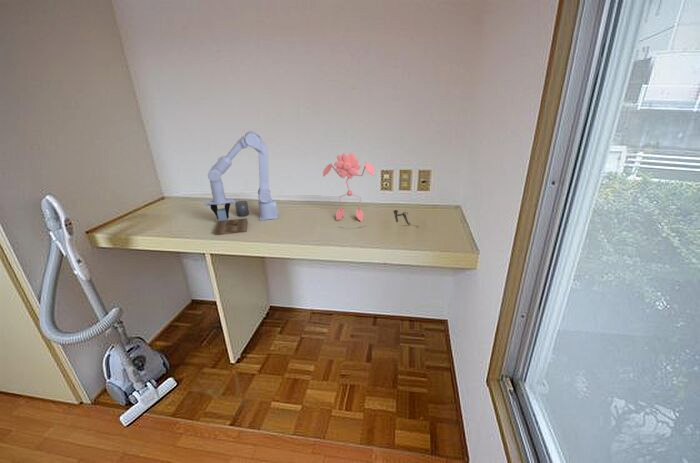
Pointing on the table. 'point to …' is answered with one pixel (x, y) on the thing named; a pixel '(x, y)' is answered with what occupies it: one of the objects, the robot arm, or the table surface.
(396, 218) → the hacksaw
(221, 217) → the square peg
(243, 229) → the socket block
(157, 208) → the table surface
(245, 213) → the round peg
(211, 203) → the robot arm
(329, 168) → the figurine
